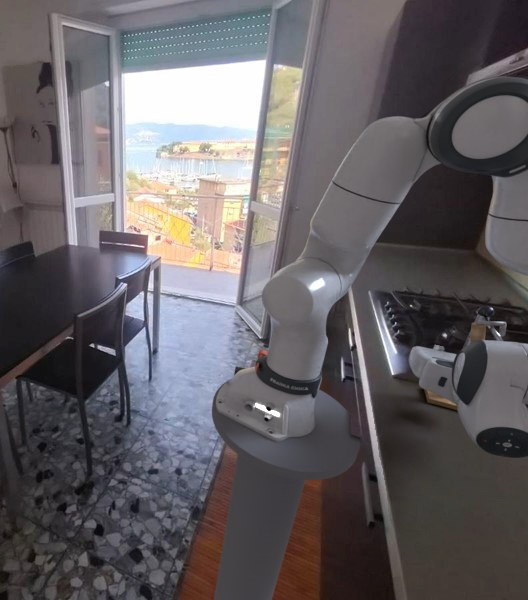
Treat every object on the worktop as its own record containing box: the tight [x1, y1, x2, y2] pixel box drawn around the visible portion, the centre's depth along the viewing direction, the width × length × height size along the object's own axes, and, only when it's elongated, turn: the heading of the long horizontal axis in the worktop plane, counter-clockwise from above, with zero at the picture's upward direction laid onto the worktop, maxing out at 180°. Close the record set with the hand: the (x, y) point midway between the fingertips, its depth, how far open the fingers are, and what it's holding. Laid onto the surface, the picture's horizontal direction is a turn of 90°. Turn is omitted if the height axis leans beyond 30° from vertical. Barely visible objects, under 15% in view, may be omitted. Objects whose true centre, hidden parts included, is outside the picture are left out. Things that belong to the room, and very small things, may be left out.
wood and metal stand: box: [423, 305, 504, 411], centre depth 78 cm, size 8×15×26 cm, turn 149°
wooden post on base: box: [470, 320, 507, 343], centre depth 76 cm, size 7×5×18 cm
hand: (463, 353), depth 78 cm, fingers open, 8 cm apart
